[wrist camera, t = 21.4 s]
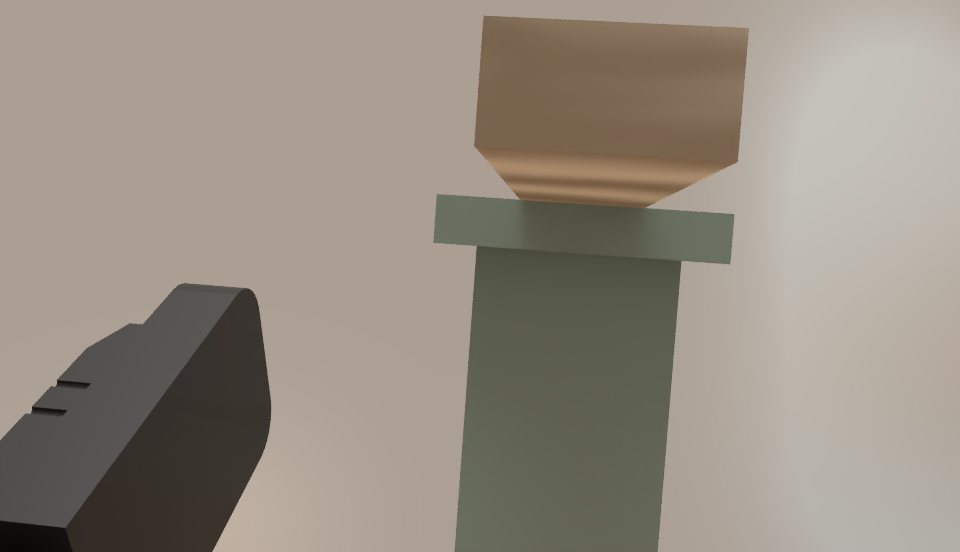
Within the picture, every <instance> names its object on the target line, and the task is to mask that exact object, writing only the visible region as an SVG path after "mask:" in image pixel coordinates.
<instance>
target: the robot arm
mask: <svg viewBox="0 0 960 552" xmlns="http://www.w3.org/2000/svg"><path fill="white" fill-rule="evenodd" d="M270 420H271V398H270V391H269V382H268V375H267V367H266V359H265V351H264V344H263V336H262V329H261V320H260V313H259V307H258V302H257V299H256V297H255V294H254V293H253V292H252V291H251V290H250V289H247V288H236V287H224V286H212V285H199V284H187V283H184V284H180V285H178V286H177V287H176V288H175V289H174V290H173V291H172V292H171V293H170V294H169V295H168V297H167V298H166V299H165V300H164V301H163V302H162V303H161V304H160V306H159V307H158V308H157V309H156V310H155V311H154V312H153V314H152V315H151V316H150V317H149V318H148V319H147V320H146V322H145V323H144V324H143V325H142V324H128V325H126V326H125V327H123V328H121V329H119V330H118V331H116V332H114V333H112V334H111V335H109V336H107V337H106V338H104V339H102V340H100V341H99V342H97V343H95V344H94V345H92V346H90V347H88V348H87V349H86V350H85V351H84V352H83V353H82V354H81V355H80V356H79V357H78V358H77V359H76V360H75V361H74V362H73V364H72V365H71V366H70V367H69V368H68V369H67V370H66V371H65V372H64V373H63V374H62V376H60V377H59V378H58V379H57V385H56V387H53V386H51V387H50V388H49V389H48V390H47V391H46V392H45V393H44V394H43V395H42V397H41V398H40V399H39V400H38V401H37V402H36V403H35V404H34V405H33V406H32V412H31V414H25V415H24V416H23V417H22V418H21V419H20V420H19V421H18V422H17V423H16V424H15V425H14V426H13V427H12V429H10V431H9V432H8V433H7V434H6V435H5V436H4V437H3V438H2V439H1V440H0V552H212V551H213V549H214V547H215V546H216V543H217V542H218V540H219V538H220V536H221V534H222V532H223V530H224V528H225V526H226V524H227V522H228V520H229V518H230V516H231V515H232V513H233V511H234V509H235V507H236V505H237V503H238V501H239V499H240V497H241V495H242V493H243V491H244V489H245V487H246V485H247V483H248V482H249V480H250V477H251V476H252V474H253V472H254V470H255V468H256V466H257V464H258V462H259V460H260V458H261V456H262V454H263V451H264V449H265V445H266V442H267V438H268V433H269V428H270Z"/></svg>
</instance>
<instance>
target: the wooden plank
mask: <svg viewBox="0 0 960 552" xmlns="http://www.w3.org/2000/svg"><path fill="white" fill-rule="evenodd" d="M748 32H749V29H748V28H732V27H712V26H691V25H669V24H647V23H627V22H604V21H583V20H582V21H581V20H561V19H541V18H519V17H498V16H484V18H483V33H482V45H481V60H480V73H479V87H478V101H477V115H476V129H475V143H474V146H475V147H476V148H477V149H478V151H479V152H480V153H481V154H482V155H483V157H484V158H485V159H486V160H487V161H488V162H489V164H490V165H491V166H492V167H493V168H494V170H495V171H496V172H497V173H498V174H499V175H500V177H501V178H502V179H503V180H504V181H505V182H506V184H507V185H508V186H509V187H510V188H511V190H512V191H513V192H514V193H515V194H516V195H517V197H518V198H519V199H520V200H530V201H545V202H560V203H574V204H589V205H604V206H619V207H634V208H646V207H648V206H650V205H652V204H654V203H656V202H658V201H660V200H662V199H664V198H666V197H668V196H670V195H672V194H674V193H676V192H678V191H680V190H682V189H684V188H686V187H688V186H690V185H692V184H694V183H696V182H698V181H700V180H702V179H704V178H706V177H708V176H710V175H712V174H714V173H716V172H718V171H720V170H722V169H724V168H726V167H728V166H730V165H732V164H734V163H736V162H737V161H738V150H739V139H740V126H741V115H742V103H743V91H744V79H745V67H746V55H747V44H748Z"/></svg>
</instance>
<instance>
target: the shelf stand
mask: <svg viewBox="0 0 960 552" xmlns="http://www.w3.org/2000/svg"><path fill="white" fill-rule="evenodd" d="M733 223H734V214H723V213H708V212H692V211H679V210H663V209H647V208H634V207H619V206H604V205H589V204H574V203H560V202H545V201H530V200H515V199H501V198H486V197H471V196H455V195H441V194H437V201H436V216H435V229H434V243H446V244H459V245H472V246H477V251H476V265H475V278H474V279H475V280H474V293H473V306H472V320H471V334H470V348H469V361H468V375H467V389H466V404H465V418H464V431H463V444H462V459H461V472H460V486H459V500H458V513H457V527H456V542H455V552H657V551H658V539H659V527H660V515H661V503H662V489H663V478H664V466H665V454H666V441H667V430H668V417H669V404H670V391H671V381H672V369H673V355H674V344H675V332H676V319H677V308H678V295H679V283H680V271H681V261H692V262H706V263H721V264H730V260H731V248H732V236H733Z"/></svg>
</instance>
